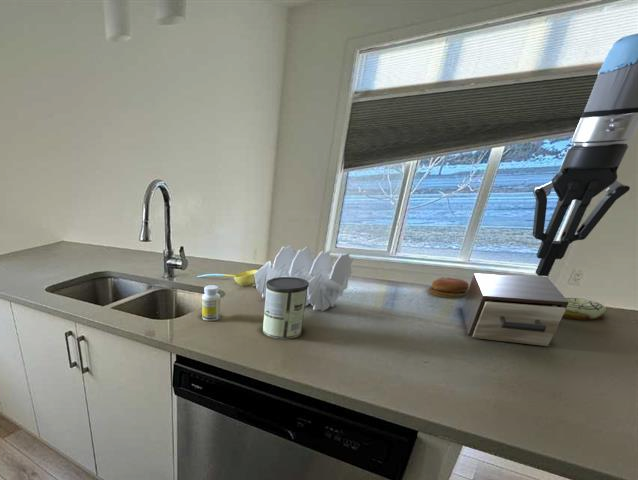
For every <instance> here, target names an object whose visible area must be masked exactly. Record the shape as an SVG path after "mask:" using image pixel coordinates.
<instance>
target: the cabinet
mask: <svg viewBox="0 0 638 480" xmlns="http://www.w3.org/2000/svg"><path fill="white" fill-rule="evenodd" d="M565 297H566V296H564V295H563V293H562V292H561V291H560V290H559V289H558V288H557V286H556V285H555V284H554V283H553V282H552V281H551V280H550V278H549V276H530V275H512V274H511V275H510V274H491V273H473V275H472V278H471V280H470V284H469V288H468V290H467V291H466V295H465V298H464V301H463V303H462V307H461V313H462V316H463V321H464V324H465V328H466V332H467V336H469V337H473V333H474V330H475V327H476V325H477V322H478V320H479V317H480V314H481V312H482V309H483V306H484V304H485V301H486V299H487V300H500V301H514V302H527V303H540V304H553V305H558V307H565V309H566V307H567V305H568V303H569V302H568V300H567V299H566V298H565Z"/></svg>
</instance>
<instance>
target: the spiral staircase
mask: <svg viewBox="0 0 638 480" xmlns="http://www.w3.org/2000/svg"><path fill="white" fill-rule="evenodd" d="M292 247H293V246H292V244H289V245H287V246H282V247H281V248H280V250H279V251H278V253H277V254H276V255H275V256H274V261H273V264H272V263H271V260H268V261H267V262H265V263H264V264H263V265H262V266H261V267H259V268H258V269H257V270H258V271H256V272H255V273H254V277H255V282H254V284H255V285H256V286H255V289H256V290H257V291H258V293H260V295H261V298H266V287H267V286H266V282H267V281H268V280H270V279H274V278H280V277H294V278H300V279H304V280H306V281H308V282H309V286H308V289H307V296H306V304H305V307H306V306H308V305H311V306H312V311H313V310H314V311H315V310H316V311H319V310H321V311H325V310H326V311H327V310H328V309H329V308H330V307H331V308H333V307H335V304H336V302H337V300H338V298H339V297H342V296H343V294H344V291H345V290H347V289H348V285H349V278H350V277H351V275H352V274H353V270H352V263H353V260H354V259H353V258H351V257H350V252H349V251H348V252H346V253H344V254H343V253H340V255H339V256H338V258H337V259H336V260H335V262H334V263H333V261H334V257H332V256H331V255H330V253H331V251H330V250H326V251H324V250H321V251H320V252H319V254H318V255H317V256H316V258H315V259H313V254H314V251H312V250H309V246H305V247H304V248H303V249H298V250H295V249H293V248H292ZM332 264H333V265H332Z"/></svg>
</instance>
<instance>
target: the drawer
mask: <svg viewBox="0 0 638 480" xmlns="http://www.w3.org/2000/svg"><path fill="white" fill-rule="evenodd" d="M565 310H566V309H565V307H558V305H553V304H540V303H527V302H514V301H500V300H487V299H486V301H485V304H484V306H483V309H482V312H481V314H480V317H479V320H478V322H477V325H476V327H475V330H474V333H473V336H472V338H473V339H479V340H480V339H481V340H490V341H496V342H497V341H498V342H506V343H507V342H508V343H517V344H526V345H532V346H533V345H535V346H541V347H549V345H550V343H551V341H552V340H553V337H554V335H555V333H556V330H557V328H558V327H559V324H560V323H561V320H562V318H563V314H564V312H565Z"/></svg>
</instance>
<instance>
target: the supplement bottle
mask: <svg viewBox="0 0 638 480" xmlns="http://www.w3.org/2000/svg"><path fill="white" fill-rule="evenodd" d="M203 289H204V291H203V292H204V293H203V294H202V296H201V319H202V320H204V321H207V322H214V321H215V322H216V321H218V320H219V319H220V317H221V294H220V293H218V292H219V287H218V285H214V284H213V285H212V284H211V285H206V286H204V288H203Z"/></svg>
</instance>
